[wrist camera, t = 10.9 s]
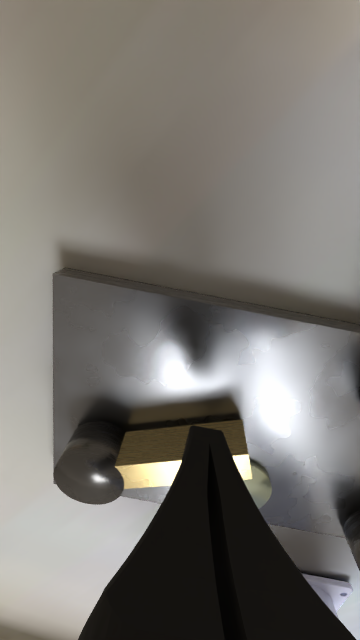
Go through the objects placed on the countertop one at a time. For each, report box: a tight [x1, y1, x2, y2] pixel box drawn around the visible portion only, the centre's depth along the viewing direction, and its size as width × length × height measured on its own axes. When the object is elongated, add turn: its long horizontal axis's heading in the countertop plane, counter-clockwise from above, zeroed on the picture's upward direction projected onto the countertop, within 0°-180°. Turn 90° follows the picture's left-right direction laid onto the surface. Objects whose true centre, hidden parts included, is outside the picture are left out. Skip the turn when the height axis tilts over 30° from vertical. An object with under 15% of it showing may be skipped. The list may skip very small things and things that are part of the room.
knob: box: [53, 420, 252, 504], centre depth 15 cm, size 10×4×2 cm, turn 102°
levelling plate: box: [53, 268, 360, 538], centre depth 16 cm, size 14×23×2 cm, turn 80°
